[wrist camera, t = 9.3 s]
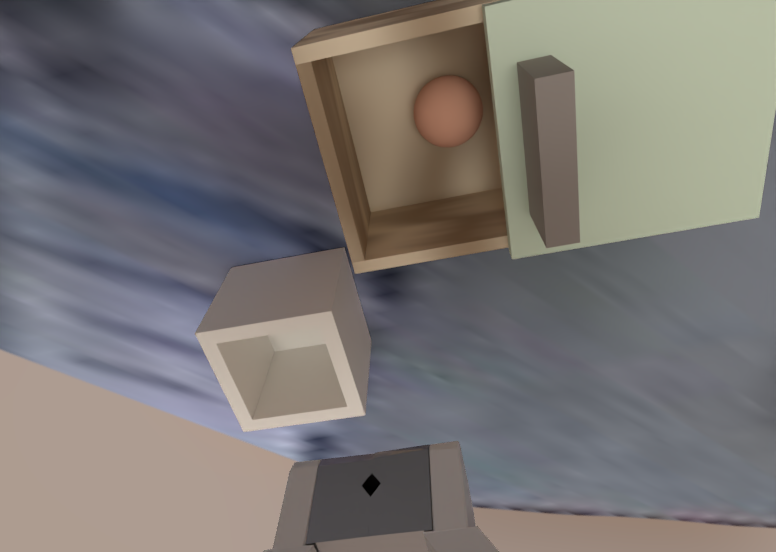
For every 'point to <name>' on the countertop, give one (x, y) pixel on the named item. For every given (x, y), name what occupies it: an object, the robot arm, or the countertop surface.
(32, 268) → the countertop surface
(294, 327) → the white open box
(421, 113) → the ball
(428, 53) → the birch box
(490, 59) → the lid
